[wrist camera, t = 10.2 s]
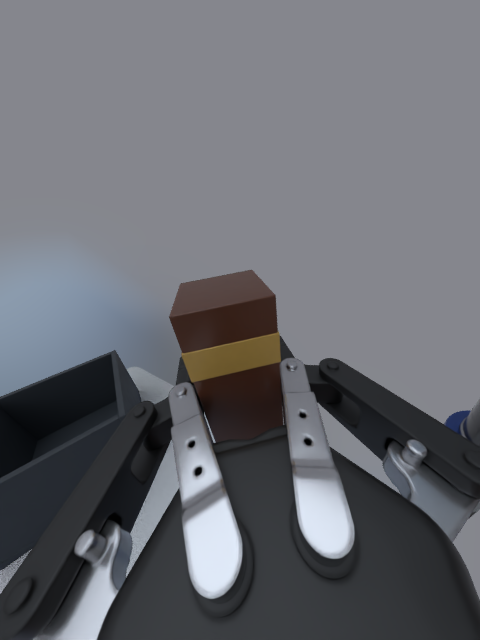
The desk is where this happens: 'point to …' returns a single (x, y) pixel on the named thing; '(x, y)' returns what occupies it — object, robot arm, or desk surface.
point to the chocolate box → (231, 352)
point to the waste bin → (55, 443)
